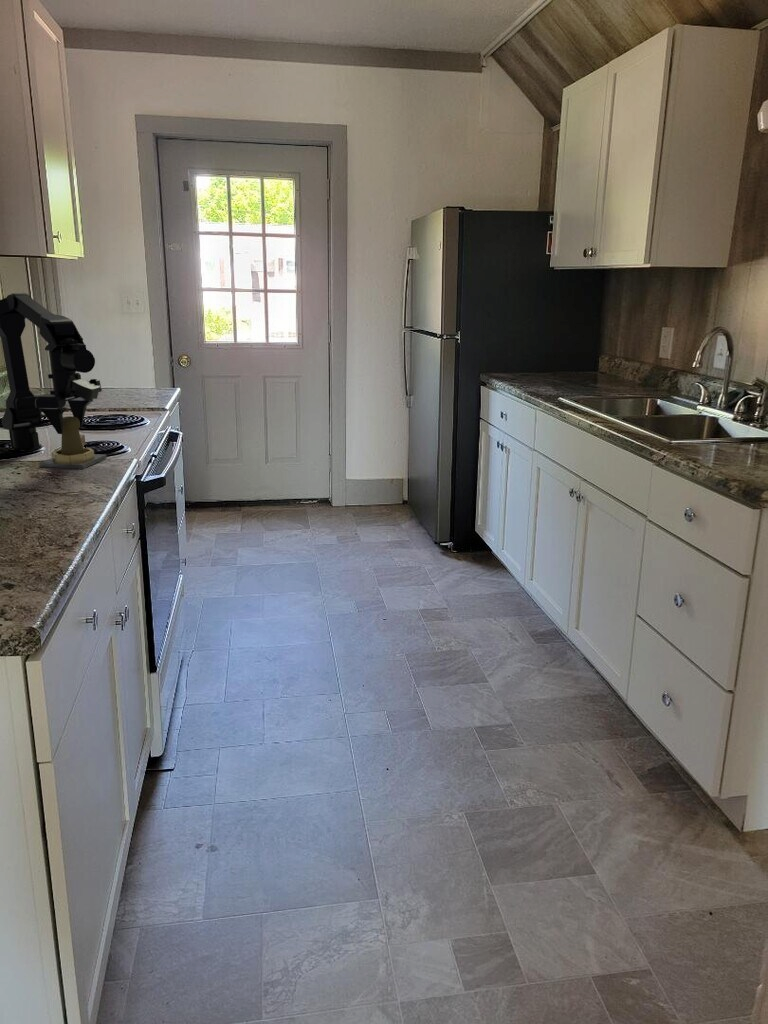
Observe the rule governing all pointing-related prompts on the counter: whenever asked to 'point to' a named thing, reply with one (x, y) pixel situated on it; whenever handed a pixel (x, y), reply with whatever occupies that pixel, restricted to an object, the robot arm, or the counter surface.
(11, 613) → the counter surface
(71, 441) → the olive brown tapered cylinder
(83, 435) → the walnut block
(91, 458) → the cup bracket
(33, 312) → the robot arm
